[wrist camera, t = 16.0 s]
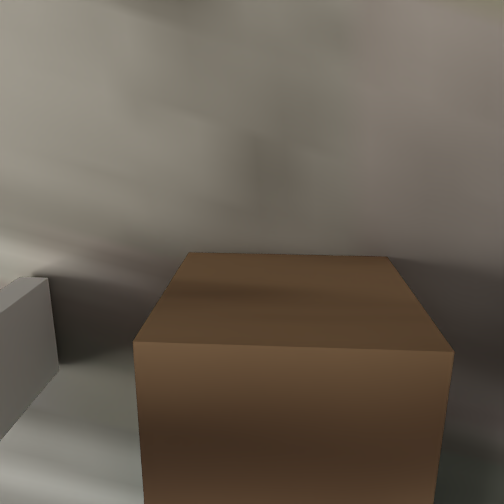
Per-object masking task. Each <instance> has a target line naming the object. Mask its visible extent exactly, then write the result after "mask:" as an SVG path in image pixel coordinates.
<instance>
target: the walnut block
mask: <svg viewBox="0 0 504 504" xmlns="http://www.w3.org/2000/svg"><path fill="white" fill-rule="evenodd" d="M133 353H134V367H135V381H136V395H137V408H138V422H139V436H140V450H141V464H142V477H143V491H144V504H433V502H434V495H435V488H436V481H437V474H438V466H439V459H440V452H441V445H442V438H443V431H444V424H445V417H446V410H447V403H448V395H449V388H450V381H451V374H452V367H453V360H454V353H455V352H454V350H453V349H452V348H451V346H450V345H449V343H448V342H447V340H446V339H445V338H444V336H443V335H442V333H441V332H440V331H439V329H438V328H437V326H436V325H435V324H434V322H433V321H432V319H431V318H430V317H429V315H428V314H427V312H426V311H425V309H424V308H423V307H422V305H421V304H420V302H419V301H418V300H417V298H416V297H415V295H414V294H413V293H412V291H411V290H410V288H409V287H408V286H407V284H406V283H405V281H404V280H403V278H402V277H401V276H400V274H399V273H398V271H397V270H396V269H395V267H394V266H393V264H392V263H391V262H390V260H389V259H388V257H380V256H333V255H286V254H239V253H192V252H189V253H188V255H187V256H186V258H185V259H184V261H183V263H182V264H181V266H180V267H179V269H178V270H177V272H176V274H175V275H174V277H173V278H172V280H171V282H170V283H169V285H168V286H167V288H166V290H165V291H164V293H163V294H162V296H161V297H160V299H159V301H158V302H157V304H156V305H155V307H154V309H153V310H152V312H151V313H150V315H149V317H148V318H147V320H146V321H145V323H144V324H143V326H142V328H141V329H140V331H139V332H138V334H137V336H136V337H135V339H134V340H133Z"/></svg>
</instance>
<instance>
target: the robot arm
mask: <svg viewBox="0 0 504 504" xmlns="http://www.w3.org/2000/svg"><path fill="white" fill-rule="evenodd" d="M58 371H59V362H58V354H57V346H56V338H55V330H54V322H53V314H52V306H51V298H50V290H49V281H48V278H40V277H19V278H18V279H16V280H15V281H13V282H11V283H10V284H8V285H7V286H5V287H4V288H2V289H1V290H0V441H1V439H2V438H3V437H4V436H5V435H6V433H7V432H8V431H9V430H10V429H11V427H12V426H13V425H14V424H15V423H16V421H17V420H18V419H19V418H20V417H21V415H22V414H23V413H24V412H25V411H26V409H27V408H28V407H29V406H30V405H31V403H32V402H33V401H34V400H35V399H36V397H37V396H38V395H39V394H40V393H41V391H42V390H43V389H44V388H45V387H46V385H47V384H48V383H49V382H50V381H51V379H52V378H53V377H54V376H55V375H56V373H57V372H58Z"/></svg>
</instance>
